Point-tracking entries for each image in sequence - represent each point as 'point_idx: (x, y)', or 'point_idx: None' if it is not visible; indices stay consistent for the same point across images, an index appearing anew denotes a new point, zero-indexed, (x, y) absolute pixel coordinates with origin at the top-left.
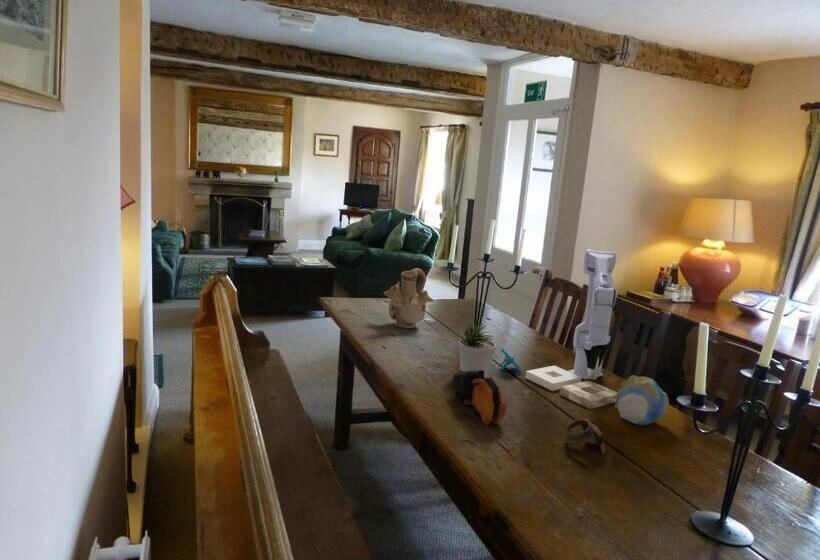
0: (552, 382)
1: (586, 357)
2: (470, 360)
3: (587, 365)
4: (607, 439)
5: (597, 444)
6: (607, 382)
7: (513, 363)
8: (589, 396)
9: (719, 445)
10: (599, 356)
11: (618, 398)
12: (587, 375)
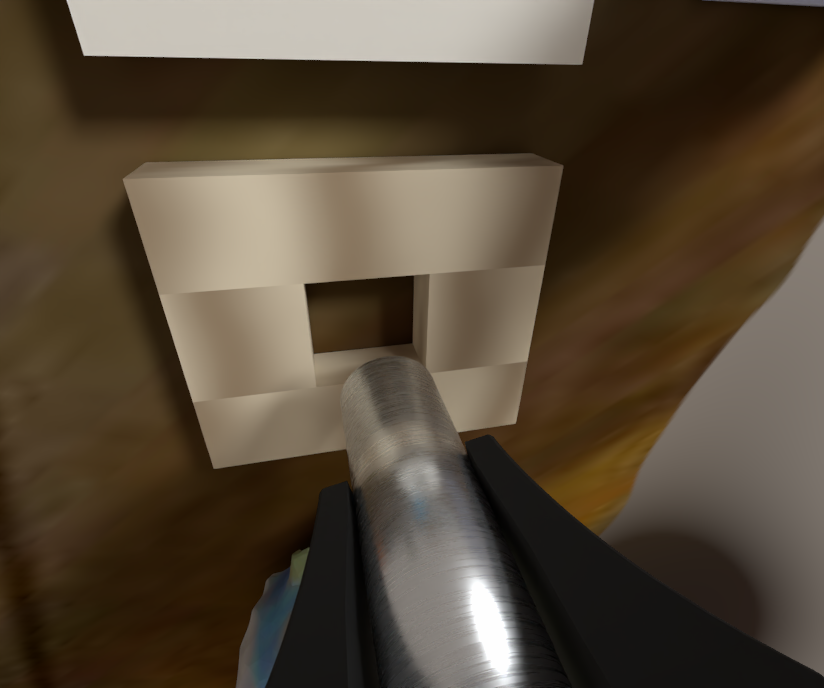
0: (95, 21)
1: (283, 643)
2: None
3: (316, 517)
4: (64, 644)
5: None
6: (757, 140)
7: None
8: (266, 412)
9: None
10: (542, 616)
11: (281, 634)
12: (345, 403)
